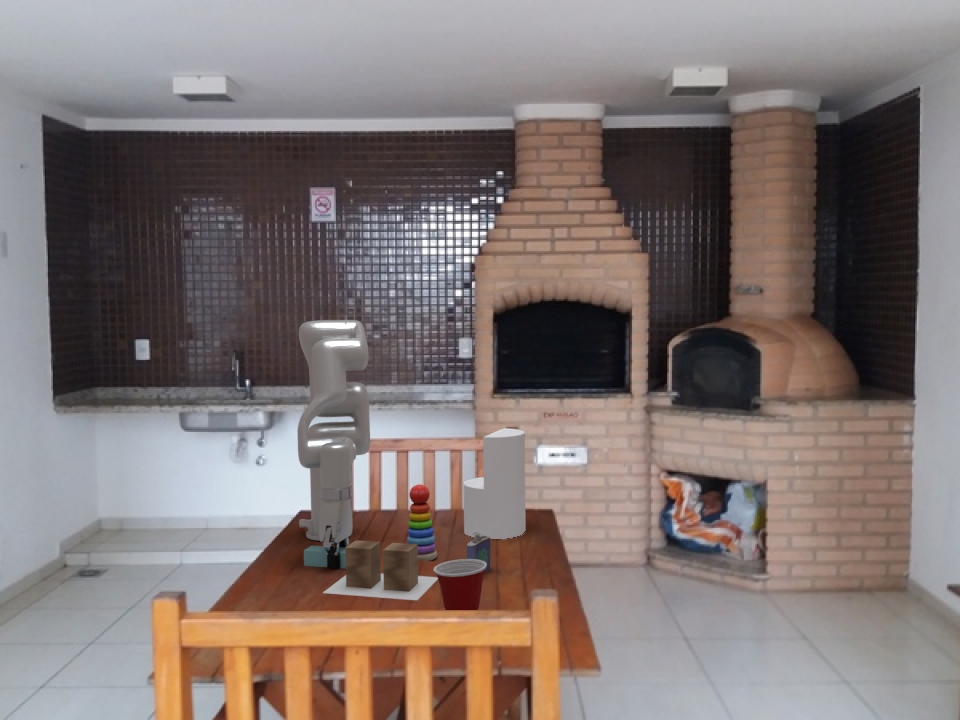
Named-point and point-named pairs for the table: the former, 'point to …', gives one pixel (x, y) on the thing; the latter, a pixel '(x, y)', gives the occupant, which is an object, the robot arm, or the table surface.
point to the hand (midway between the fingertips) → (338, 566)
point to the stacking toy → (421, 524)
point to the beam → (321, 556)
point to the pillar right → (400, 567)
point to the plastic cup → (461, 583)
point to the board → (379, 591)
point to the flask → (479, 549)
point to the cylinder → (498, 488)
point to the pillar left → (363, 564)
